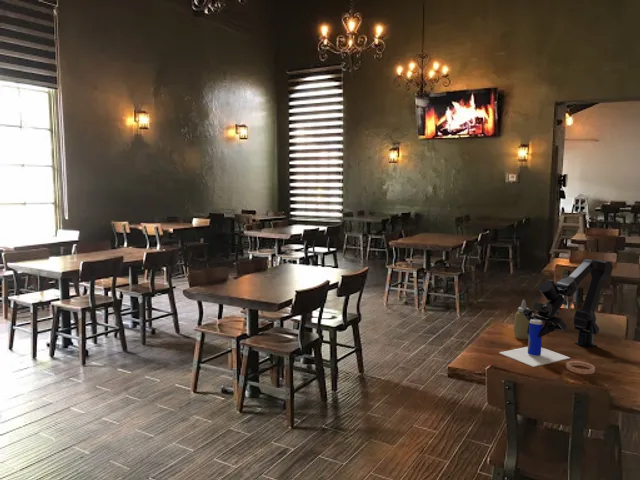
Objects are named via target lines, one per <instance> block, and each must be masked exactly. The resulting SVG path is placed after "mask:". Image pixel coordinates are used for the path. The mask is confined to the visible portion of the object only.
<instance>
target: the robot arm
mask: <svg viewBox="0 0 640 480" xmlns="http://www.w3.org/2000/svg"><path fill="white" fill-rule="evenodd" d="M613 268H614V266H613V264H612V262H611V261H608V260H603V259H589V258H585V259H583V260H582V263H581V264H580V265H578V267H577V268H576V269H575V270H573V272H571V273H570V274H569V276H567V277H565V278H564V277H563V278H561V279H560V280H558V281H557V282H556V283H555V281H554V280H552V279H548V280H547V281H544V282H542V283H540V284H539V286H538V289H539V291H540V293H541V294H542V295H543V297H544V299H546V300H547V301H546V302H543V303H542V302H538V301H533V304H532V307H531V309H530V308H529V309H524V311H523V312H522V313H523V314H524V316H525V317H526V318H527V319H528V320H529V323H530V320H531V319H538V320H541V321H542V322H544V324H543V325H544V326H543V328H542V330H541V331H540V333H539V335H538V337H539V338H540V337H542V338H543V337H544V336H546V335H548V334H550V333H552V332H555V331H558V330H559V331H561V332H565V330H566V328H567V324H566V323H565V321H564V320H563V319H562V318H561V317H557V316H559V315H560V313H559V311H560V310H561V308H562V306H568V301H567V298H565V297H568V298H569V297H570V298H571V297H573V296H574V294H575V293H576V291H577V290H578V286H579V284H580V283H581V282H582V281H583V280H584V279H585V278H586V277H587V276H588V275H589V274H590V277H591V279H590V282H589V285H588V288H587V291H586V295H585V298H584V301H583V304H582V307H581V308H580V309H579V310H578V309H577V310H576V311H575V313H574V316H573V325H574V330H576V331H578V335H577V336H578V337H577V341H575V342H574V344H576V345H579V346H581V347H584V348H590V347H594V346H595V347H596V346H597V343H594V337H595V335H598V333H599V332H600V327H599V326H598V324H597V323H596V322H597V317H596V312H595V310H596V307H597V303H598V299H599V297H600V294H601V291H602V287H603V285H604V281H606V280H607V279H608V278H609V277H610V276H611V273H612V271H613ZM534 310H535V311H536V312H535V311H534ZM527 333H528V334H529V326H528V330H527Z"/></svg>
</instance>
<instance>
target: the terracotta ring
mask: <svg viewBox="0 0 640 480" xmlns="http://www.w3.org/2000/svg"><path fill="white" fill-rule="evenodd" d="M565 365H566V367H565V368H566V369H567V370H568V371H570V372H572V373H576V374H582V375H591V374H595V371H596V367H595V366H594V365H593V364H591V363H588V362H587V361H586V362H584V361H580V360H579V361H578V360H570V361H567V362H566V364H565ZM575 366H576V367H575ZM577 366H580V367H583V368H577ZM584 367H585V368H586V369H584Z"/></svg>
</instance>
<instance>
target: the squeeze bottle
mask: <svg viewBox="0 0 640 480" xmlns="http://www.w3.org/2000/svg"><path fill="white" fill-rule="evenodd" d="M526 302H527V301H526V300H525V299H523V300H522V302H521V305H520V306H519V307H518V308H517V311H516V312H515V315H514V323H513V328H512V330H513V333H514V337H515V338H516V339H519V340H528V339H529V334H528V333H527V330H528V326H529V320H528V319H527V318H526V317H525V316H524V314H523V313H522V312H523V311H524V309H530V308H529V307H527V303H526Z"/></svg>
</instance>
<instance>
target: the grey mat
mask: <svg viewBox="0 0 640 480" xmlns="http://www.w3.org/2000/svg"><path fill="white" fill-rule="evenodd" d="M498 354H500V355H501V356H505V357H507V358H509V359H512V360H514V361H517V362H520V363H522V364H523V365H524V364H525V365H527V366H530V367H532V368H535V367H539V366H544V365H548V364H553V363H556V362H557V363H558V362H561V361H565V360H569V359H571V357H569V356H566V355H564V354H562V353H558V352H557V351H556V352H555V351H552V350H550V349H547V348H544V347H542V346H541V355H540V356H538V357H534V356H530V355H529V354H528V346H524V347H520V348H519V347H518V348H516V349H509V350H506V351H499V353H498Z"/></svg>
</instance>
